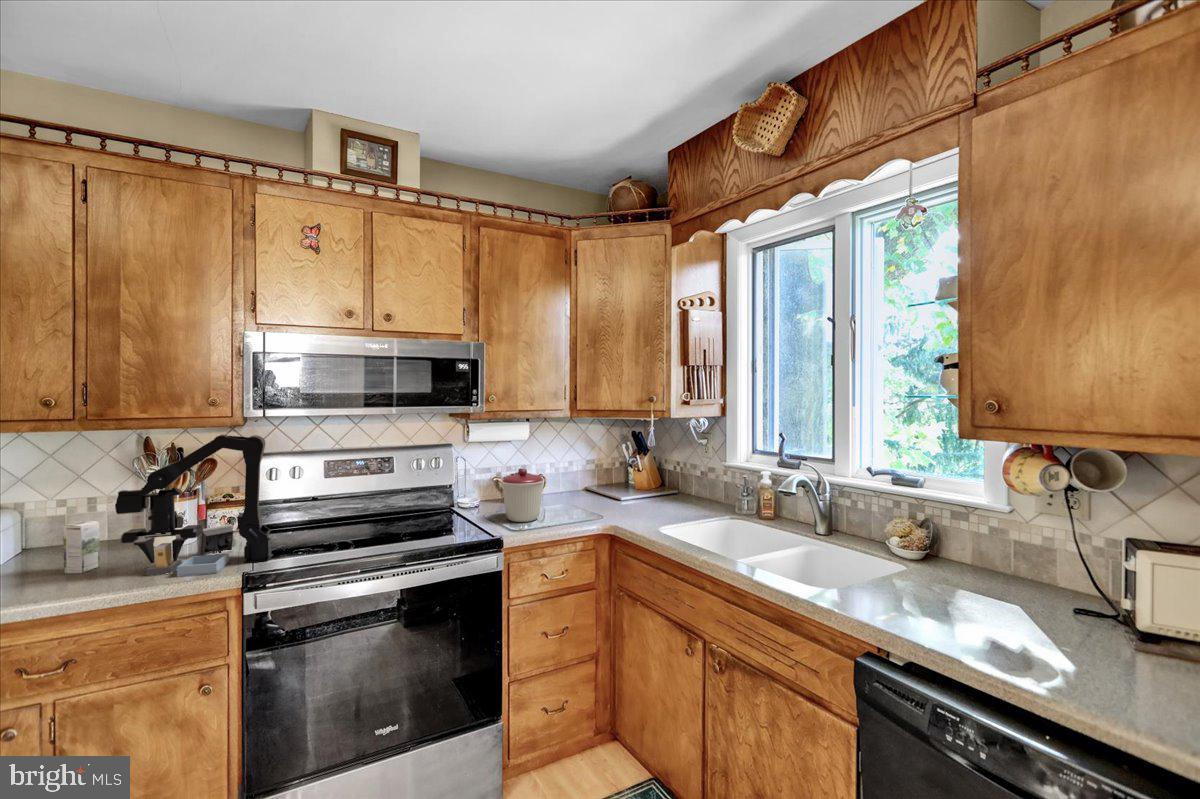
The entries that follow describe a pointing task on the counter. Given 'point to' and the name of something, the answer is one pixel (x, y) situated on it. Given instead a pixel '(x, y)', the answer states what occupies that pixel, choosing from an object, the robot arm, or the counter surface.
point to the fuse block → (162, 568)
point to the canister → (522, 496)
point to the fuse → (163, 555)
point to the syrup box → (81, 546)
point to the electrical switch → (215, 539)
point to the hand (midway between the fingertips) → (164, 561)
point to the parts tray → (203, 565)
